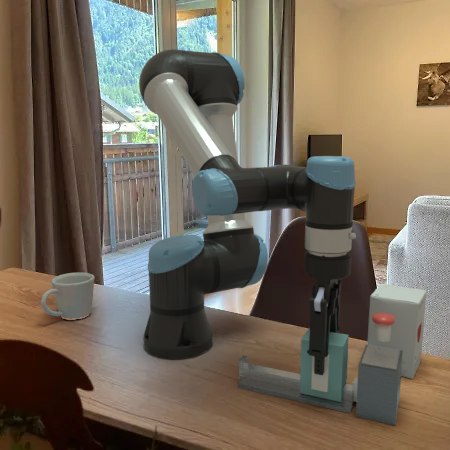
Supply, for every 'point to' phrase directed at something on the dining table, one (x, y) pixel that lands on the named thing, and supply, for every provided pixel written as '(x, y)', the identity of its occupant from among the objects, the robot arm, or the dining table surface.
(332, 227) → the robot arm
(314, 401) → the rail
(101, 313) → the dining table surface
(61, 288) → the mug
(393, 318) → the plunger
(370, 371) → the grey button housing
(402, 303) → the supplement box
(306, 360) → the carriage
